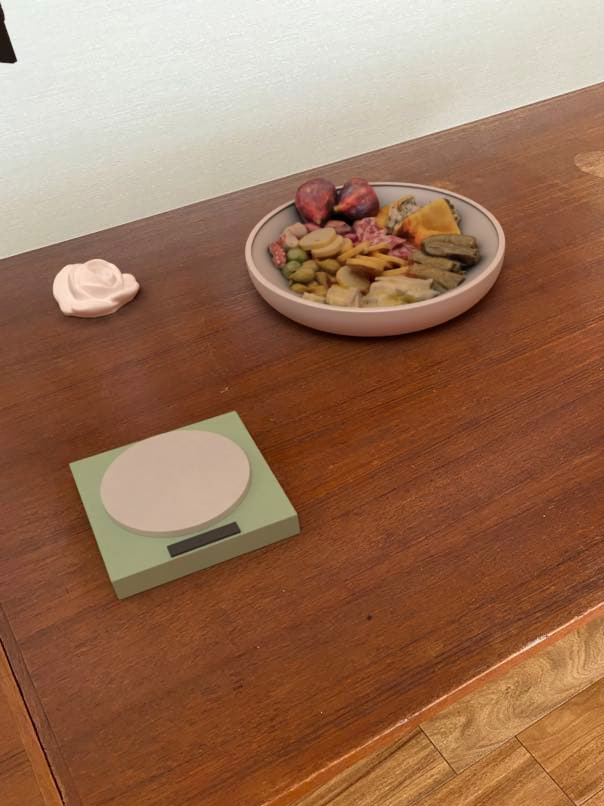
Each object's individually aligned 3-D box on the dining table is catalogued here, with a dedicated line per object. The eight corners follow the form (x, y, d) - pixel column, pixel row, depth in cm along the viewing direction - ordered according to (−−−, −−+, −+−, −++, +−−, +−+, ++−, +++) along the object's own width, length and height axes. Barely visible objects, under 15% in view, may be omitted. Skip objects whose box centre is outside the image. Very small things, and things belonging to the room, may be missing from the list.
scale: (119, 600, 71) (108, 575, 68) (76, 482, 80) (65, 456, 78) (300, 533, 75) (296, 507, 73) (239, 429, 85) (233, 403, 83)
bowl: (555, 282, 102) (562, 219, 96) (353, 386, 89) (347, 320, 84) (395, 196, 118) (392, 138, 112) (204, 274, 105) (191, 212, 100)
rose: (45, 248, 102) (129, 236, 103) (57, 282, 105) (138, 270, 106) (43, 292, 95) (133, 278, 97) (56, 327, 98) (143, 312, 100)
